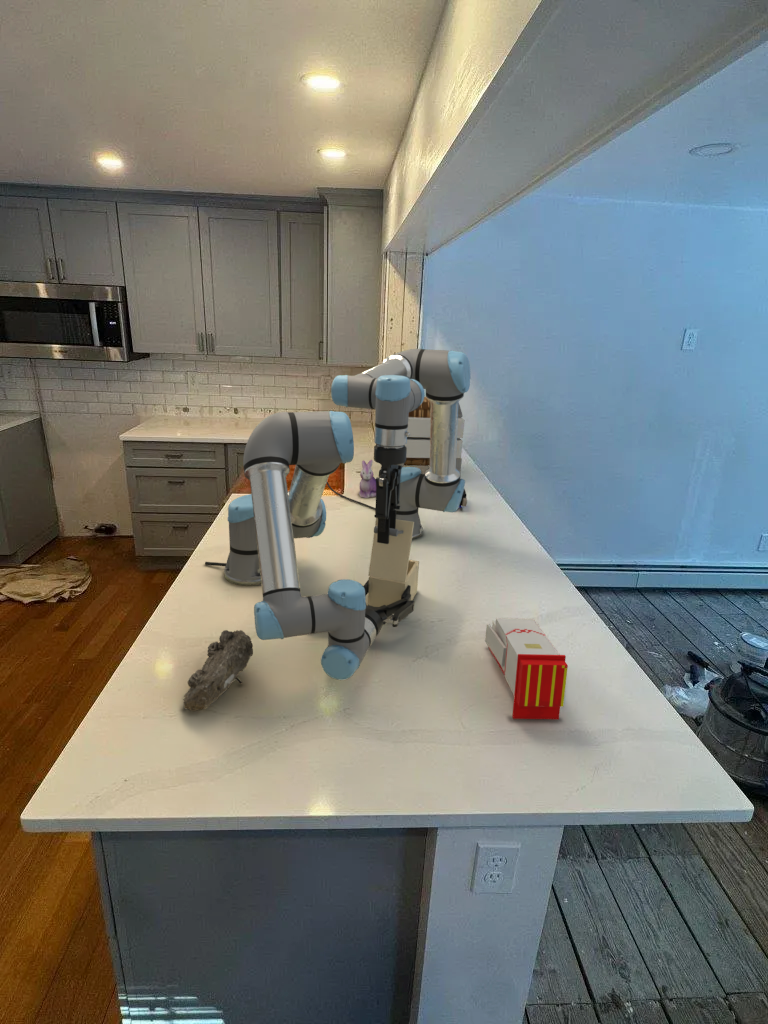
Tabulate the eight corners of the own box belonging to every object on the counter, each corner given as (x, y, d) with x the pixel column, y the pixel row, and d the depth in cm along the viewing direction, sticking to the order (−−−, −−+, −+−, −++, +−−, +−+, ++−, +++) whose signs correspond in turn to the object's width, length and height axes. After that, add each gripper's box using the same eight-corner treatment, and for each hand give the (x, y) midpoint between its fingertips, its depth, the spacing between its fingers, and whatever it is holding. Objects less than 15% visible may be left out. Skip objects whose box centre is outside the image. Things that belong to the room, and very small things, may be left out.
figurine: (363, 499, 233) (364, 464, 228) (353, 492, 242) (354, 458, 236) (383, 497, 237) (385, 462, 232) (373, 490, 246) (374, 456, 241)
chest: (383, 585, 162) (385, 555, 159) (417, 591, 159) (419, 561, 156) (367, 610, 149) (368, 577, 145) (403, 617, 146) (405, 584, 143)
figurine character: (467, 515, 225) (461, 499, 238) (469, 498, 221) (463, 482, 235) (450, 514, 224) (445, 498, 238) (452, 497, 221) (447, 482, 234)
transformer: (382, 463, 289) (386, 382, 275) (445, 464, 293) (451, 384, 279) (390, 482, 257) (394, 392, 243) (460, 483, 261) (468, 394, 247)
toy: (531, 603, 136) (576, 661, 106) (526, 655, 139) (569, 725, 109) (481, 602, 135) (512, 660, 106) (477, 654, 138) (507, 724, 109)
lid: (377, 516, 145) (367, 516, 137) (414, 521, 143) (406, 522, 134) (369, 575, 146) (358, 579, 137) (405, 581, 143) (397, 586, 135)
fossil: (205, 632, 127) (252, 602, 122) (234, 661, 130) (282, 632, 125) (161, 704, 108) (216, 672, 103) (197, 736, 111) (252, 705, 106)
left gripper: (315, 634, 132) (348, 591, 152) (408, 653, 126) (430, 607, 146) (315, 605, 129) (349, 566, 150) (410, 624, 123) (432, 580, 144)
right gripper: (395, 455, 121) (390, 555, 129) (415, 438, 137) (410, 528, 145) (362, 451, 123) (359, 550, 131) (386, 435, 139) (382, 524, 147)
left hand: (389, 586), depth 148 cm, fingers closed on chest, 10 cm apart
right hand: (386, 538), depth 138 cm, fingers open, 5 cm apart
